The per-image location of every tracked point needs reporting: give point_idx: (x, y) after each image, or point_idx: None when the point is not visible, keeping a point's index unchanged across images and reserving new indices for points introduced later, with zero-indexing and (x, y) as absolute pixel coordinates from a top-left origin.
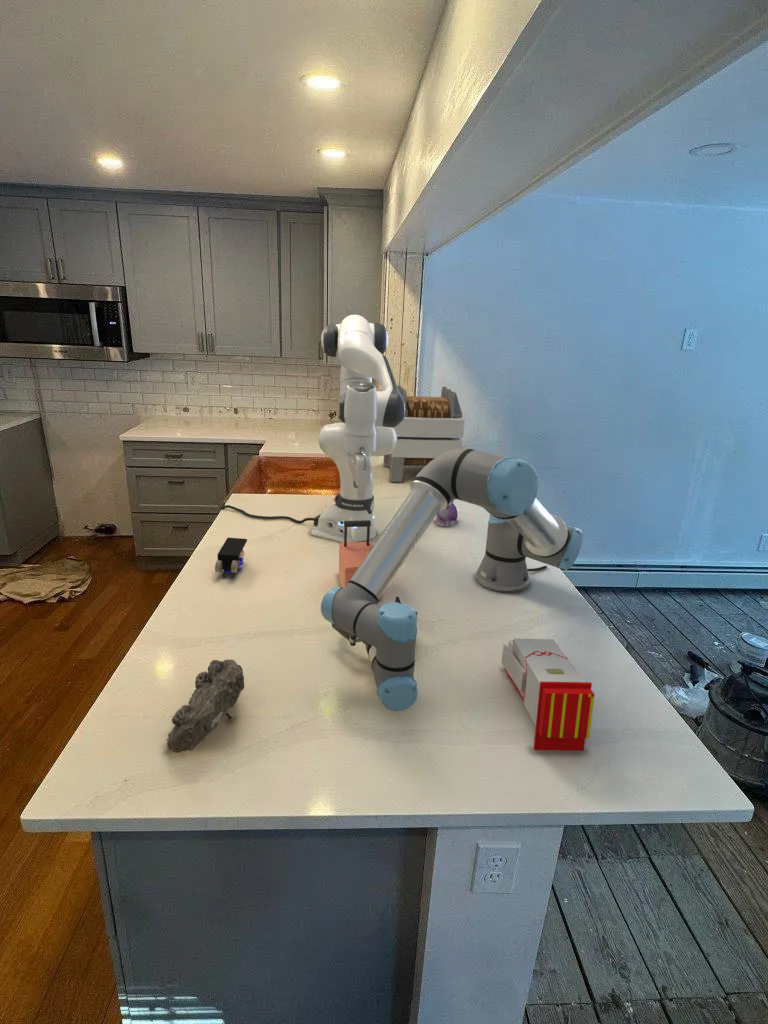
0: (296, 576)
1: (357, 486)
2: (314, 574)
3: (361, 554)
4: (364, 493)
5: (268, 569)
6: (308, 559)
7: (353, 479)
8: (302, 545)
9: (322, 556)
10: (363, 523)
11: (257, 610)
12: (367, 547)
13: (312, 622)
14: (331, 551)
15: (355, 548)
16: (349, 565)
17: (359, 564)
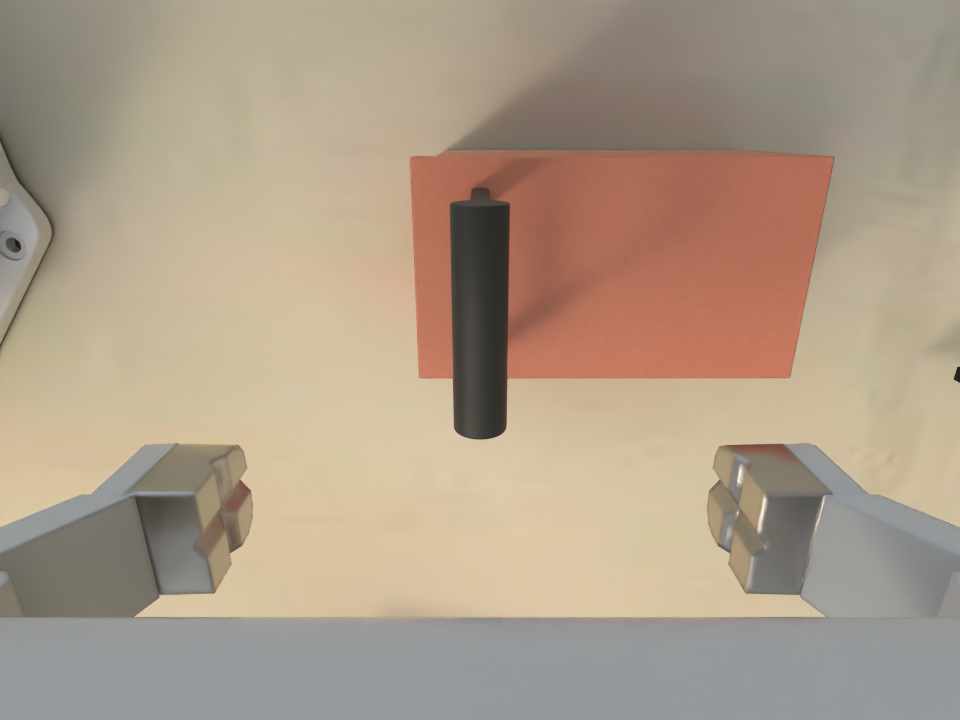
0: (447, 485)
1: (236, 484)
2: (433, 417)
3: (625, 262)
4: (854, 482)
5: (377, 578)
6: (274, 433)
7: (125, 616)
8: (113, 452)
9: (236, 371)
10: (507, 274)
11: (698, 604)
12: (517, 205)
13: (834, 444)
14: (169, 324)
15: (525, 288)
16: (770, 353)
17: (771, 294)
